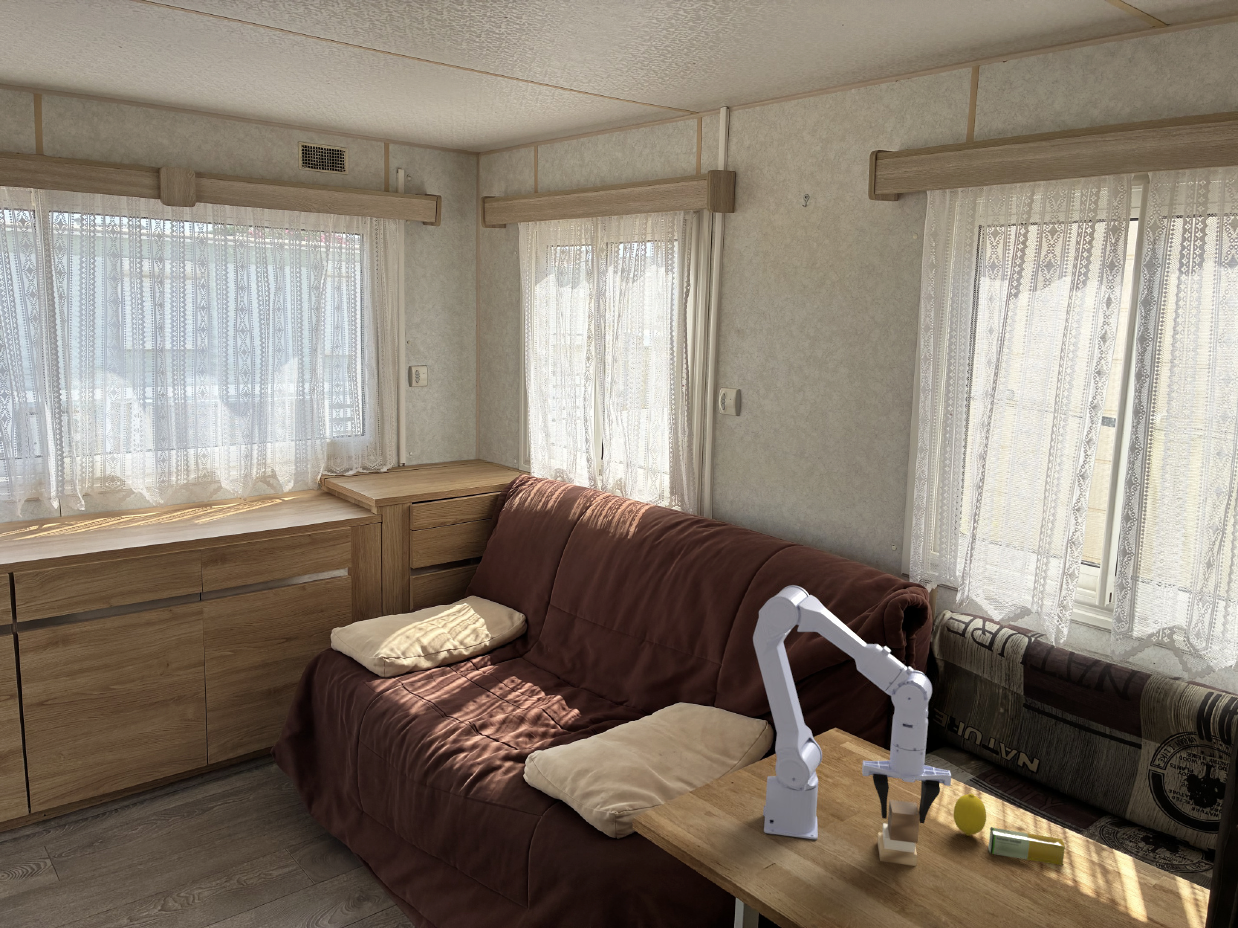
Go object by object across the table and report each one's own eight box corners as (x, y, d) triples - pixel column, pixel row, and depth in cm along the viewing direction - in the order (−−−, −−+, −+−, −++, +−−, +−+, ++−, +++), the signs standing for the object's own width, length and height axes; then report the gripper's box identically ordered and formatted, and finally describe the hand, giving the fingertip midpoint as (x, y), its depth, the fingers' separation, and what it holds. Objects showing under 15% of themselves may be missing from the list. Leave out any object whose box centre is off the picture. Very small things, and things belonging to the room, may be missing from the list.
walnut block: (890, 839, 159) (892, 812, 158) (887, 826, 163) (889, 799, 162) (917, 842, 158) (919, 815, 157) (913, 829, 162) (916, 802, 162)
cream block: (884, 848, 160) (885, 837, 159) (882, 833, 164) (883, 823, 164) (914, 852, 159) (915, 841, 158) (911, 837, 163) (912, 827, 163)
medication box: (989, 854, 163) (991, 833, 162) (987, 846, 165) (989, 825, 165) (1063, 867, 160) (1066, 845, 159) (1060, 858, 162) (1062, 837, 162)
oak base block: (879, 863, 160) (880, 849, 159) (877, 845, 165) (878, 831, 165) (916, 868, 158) (917, 854, 158) (912, 849, 164) (913, 836, 164)
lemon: (986, 845, 166) (990, 803, 164) (954, 840, 167) (958, 799, 166) (981, 829, 171) (985, 788, 170) (949, 825, 172) (953, 784, 171)
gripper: (866, 748, 156) (860, 823, 158) (956, 758, 154) (949, 835, 155) (863, 731, 163) (858, 804, 165) (949, 740, 160) (943, 814, 162)
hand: (902, 817), depth 161 cm, fingers open, 6 cm apart
